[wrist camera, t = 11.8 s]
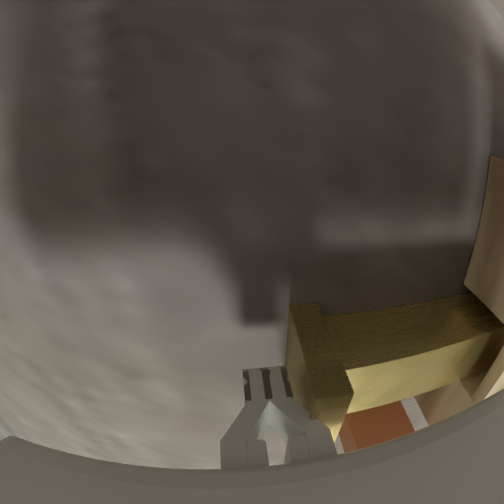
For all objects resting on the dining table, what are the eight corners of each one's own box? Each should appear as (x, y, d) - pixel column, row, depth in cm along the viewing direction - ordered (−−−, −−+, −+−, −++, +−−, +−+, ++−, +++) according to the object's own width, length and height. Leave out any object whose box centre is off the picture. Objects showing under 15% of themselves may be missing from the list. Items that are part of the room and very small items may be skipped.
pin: (284, 379, 14) (300, 460, 10) (288, 305, 12) (315, 399, 8) (491, 331, 15) (527, 374, 11) (516, 271, 13) (562, 313, 8)
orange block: (337, 429, 17) (351, 477, 13) (344, 412, 16) (361, 464, 12) (388, 417, 17) (406, 460, 13) (399, 398, 16) (421, 445, 12)
